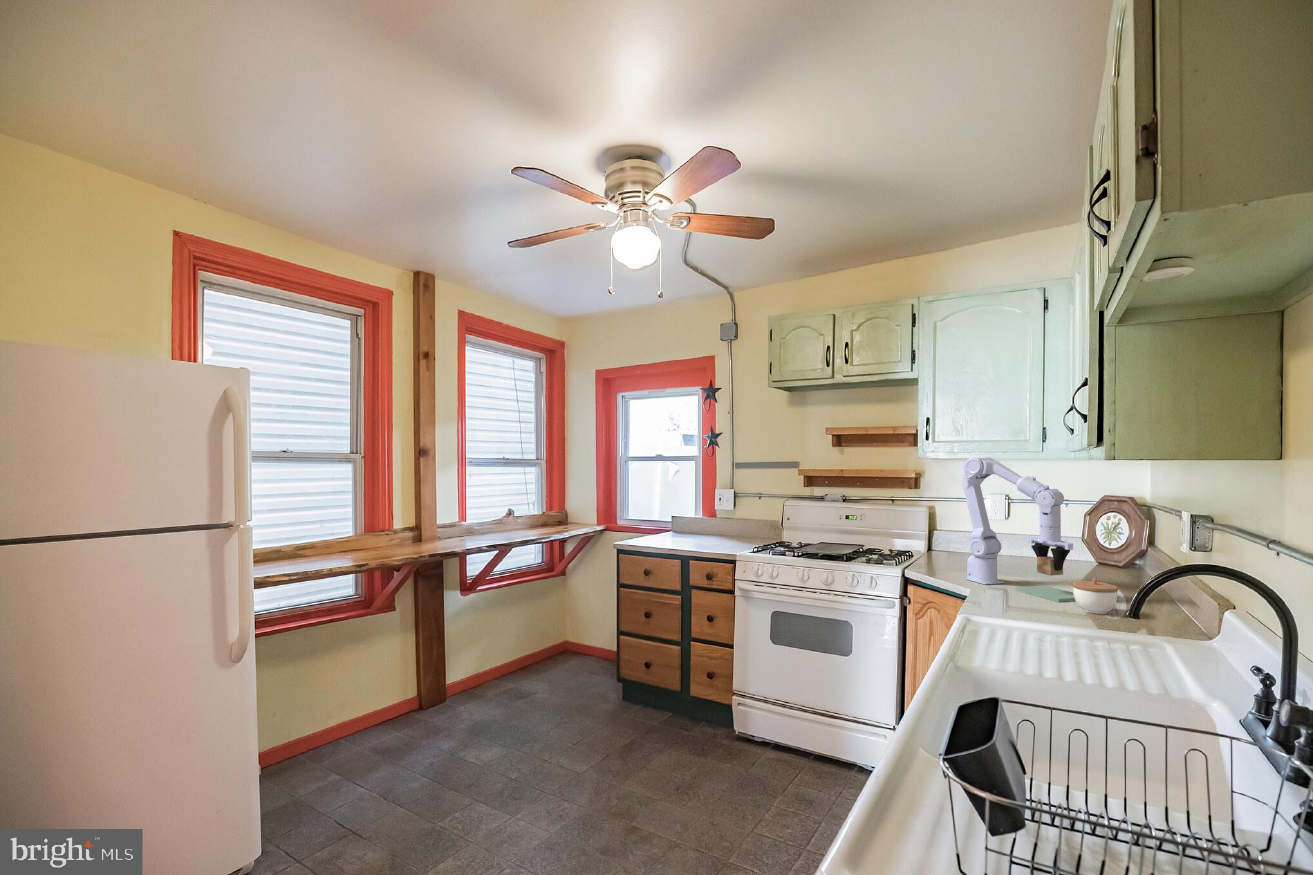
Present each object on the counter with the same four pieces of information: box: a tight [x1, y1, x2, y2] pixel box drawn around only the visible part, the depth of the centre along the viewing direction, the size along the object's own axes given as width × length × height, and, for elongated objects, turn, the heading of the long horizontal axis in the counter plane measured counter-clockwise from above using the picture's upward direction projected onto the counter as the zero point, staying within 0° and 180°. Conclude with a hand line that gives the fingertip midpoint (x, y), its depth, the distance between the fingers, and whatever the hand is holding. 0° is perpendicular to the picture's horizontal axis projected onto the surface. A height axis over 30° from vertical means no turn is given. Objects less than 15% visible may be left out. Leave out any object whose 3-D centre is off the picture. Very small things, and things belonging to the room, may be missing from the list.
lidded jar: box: [1072, 578, 1119, 615], centre depth 177 cm, size 11×11×9 cm
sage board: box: [1015, 584, 1076, 603], centre depth 197 cm, size 16×12×1 cm
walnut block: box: [1036, 555, 1064, 577], centre depth 197 cm, size 5×5×5 cm
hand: (1050, 568), depth 197 cm, fingers closed on walnut block, 5 cm apart
